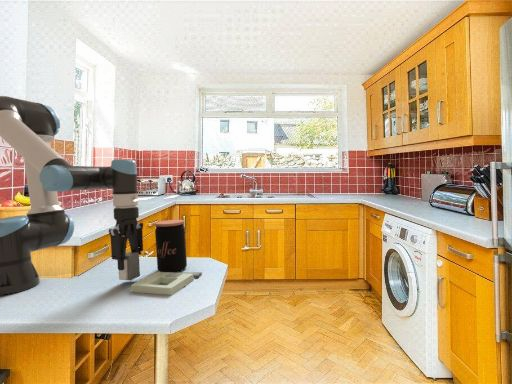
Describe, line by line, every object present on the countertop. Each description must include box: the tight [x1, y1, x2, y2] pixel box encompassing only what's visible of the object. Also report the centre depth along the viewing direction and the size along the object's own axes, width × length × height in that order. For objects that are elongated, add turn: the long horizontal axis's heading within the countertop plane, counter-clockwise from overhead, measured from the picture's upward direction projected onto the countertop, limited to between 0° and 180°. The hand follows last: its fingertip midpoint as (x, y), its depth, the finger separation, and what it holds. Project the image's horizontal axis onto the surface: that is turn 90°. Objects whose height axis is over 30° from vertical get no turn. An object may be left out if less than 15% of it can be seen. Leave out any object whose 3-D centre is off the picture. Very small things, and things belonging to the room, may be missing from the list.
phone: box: [181, 271, 203, 279], centre depth 102 cm, size 7×4×1 cm, turn 82°
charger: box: [118, 251, 141, 281], centre depth 98 cm, size 4×4×8 cm
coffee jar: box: [154, 219, 188, 273], centre depth 110 cm, size 11×11×18 cm
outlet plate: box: [130, 271, 195, 296], centre depth 94 cm, size 14×13×2 cm
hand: (129, 276), depth 98 cm, fingers closed on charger, 4 cm apart
